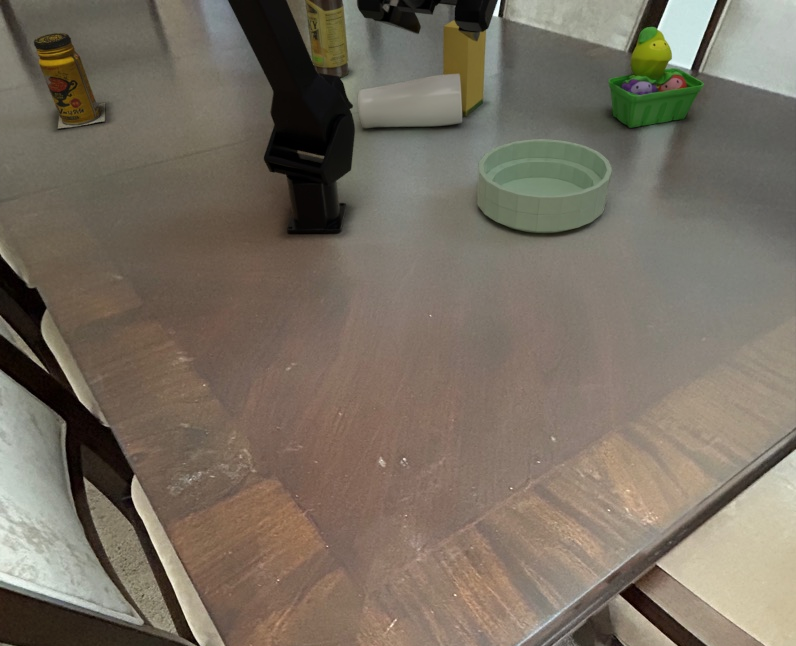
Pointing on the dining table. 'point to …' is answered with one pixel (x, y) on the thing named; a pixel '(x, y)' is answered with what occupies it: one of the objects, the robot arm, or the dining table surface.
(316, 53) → the sauce bottle
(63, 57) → the condiment
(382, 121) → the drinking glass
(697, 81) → the fruit basket
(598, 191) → the bowl
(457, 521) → the dining table surface
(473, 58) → the sponge
